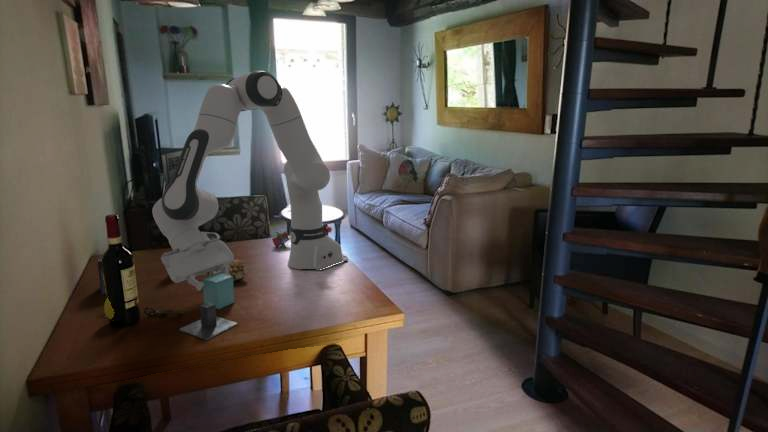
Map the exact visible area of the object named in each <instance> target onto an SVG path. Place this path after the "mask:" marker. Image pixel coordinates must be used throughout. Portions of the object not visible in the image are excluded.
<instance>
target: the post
mask: <svg viewBox="0 0 768 432" xmlns="http://www.w3.org/2000/svg"><path fill="white" fill-rule="evenodd" d="M216 311H217V310H216V308H215V304H213V303H209V302H207V303H205V304H204V303H202V304H200V305H199V312H200V319H198V320H195V321H194V322H191V323H190V324H187V325H185V326H183V327H181V328H179V331H180V332H182V333H186V334H189V335H191V336H194V337H197V338H199V339H201V340H204V341H209V340H210V339H213V338H214V337H217V336H218V335H220V334H222V333H224V332H226V331H228V330H230V329H232V328H234V327H236V326H238V325H239V323H238V322H236V321H232V320H229V319H226V318H223V317H220V316H217V312H216Z"/></svg>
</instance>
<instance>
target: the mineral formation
mask: <svg viewBox="0 0 768 432" xmlns="http://www.w3.org/2000/svg"><path fill="white" fill-rule="evenodd" d="M245 266H246V261H245V260H241V259H238V258H237V259H234V260H233V261H232V262H231V264H230V265H228V272H229V274H230V275H231V276H233V282H236V281H237V280H241V279H242V278H243V276H245V275H248V274H249V270H246V269H245ZM216 273H222V274H223V271H221V270H220V268H219V269H216V270H213V271H211V272H208V273H205V274H202V275H203V276H205V277H208V276H211V275H214V274H216Z"/></svg>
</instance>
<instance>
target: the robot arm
mask: <svg viewBox="0 0 768 432" xmlns="http://www.w3.org/2000/svg"><path fill="white" fill-rule="evenodd" d="M276 78H277V77H275V76H274V75H273V74H272V73H270V72H268V71H264V70H254V71H251V72H245V73H243V74H240V75H238V76H237V77H234V78H231V79H230V80H228V82H226V84H225V83H224V84H223V83H215V84H212V85H211V86H209V88H208V89H207V91H206V93H205V95H204V97H203V100H202V103H201V105H200V108H199V112H198V116H197V120H196V123H195V126H194V128H193V131H191V132H190V133H189V135H188V136H187V138H186V140H185V142H184V145H183V149H182V151H181V153H180V156H179V160H178V162H177V165H176V168H175V171H174V174H173V175H172V178H171V180H170V182H169V183H168V185H166V188H165V189H164V191H163V193H162V196H161V198H159V199H158V200H157V201H156V202H155V203H154V205H153V207H152V210H151V211H152V217H153V218H154V219H153V220H154V222H155V223H156V225H157V226H158V228H159V230H160V232H161V233H162V235H163V236H165V237H166V238H167V240H168V243H169V245H170V247H171V249H173V250H170V251H165V252H164V253H162V255H161V257H160V261H161V262H162V264H163V265H164V267H165V269H166V272H167V274H168V275H169V278H170V280H171V281H172V282H174V283H176V284H178V283H181V282H184V281H187V283H188V284H190V285H191V286H193V287H195V289H196V291H198V292H199V291H201V290H202V291H203V289H204V288H205V285H204V284H203V281H198V280H197V279H196V277H198V276H202V275H203V274H205V273H208V272H211V271H213V270H216V269H219V268H220V270H221V271H223V274H226V275H230V274H229V272H228V265H230V264H231V263H233V261H234V260H235V256H234V253H233V252H232V251H231V249H230V248H229V246H228V245H227V244H226V243H225V242H224V241H222V240H221V235H220V234H218V233H217V232H207V231H200V229H199V227H201V226H203V225H205V224H207V223H209V222H210V221H211V220H213V219H214V218H215V217H216V216H217V214H218V212H219V208H220V207H219V206H220V204H219V201H218V198H217V197H216V196H215V194H214V193H212V192H209V191H207V190H205V189H200V188H198V185H197V184H198V180H199V177H200V174H201V171H202V168H203V165H204V162H205V160H206V158H207V157H208V156H209V154H211V153H214V152H219V151H222V150H225V149H227V147H229V146H230V145H231V144H232V142H233V140H234V138H235V135H236V130H237V126H238V121H239V116H240V113H241V112H246V111H255V110H259V109H261V111H262V112H263V113H264V114H265V116H266V120H267V122H268V125H269V127H270V130H271V132H272V134H273V137H274V140H275V142H276V145H277V147H278V149H279V151H281V153H282V155H283V156H284V158H285V160H286V161H285V164H284V166H283V173H284V176H285V182H286V188H287V191H288V197H289V203H290V222H291V224H290V227H289V228H290V229H289V235H290V240H289V241H290V250H289V258H288V261H287V266H288V267H290V268H292V269H295V270H296V269H297V270H301V269H316V270H315V271H321V270H320V269H323V268H326V267H328V266H331V265H333V264H336V263H339V262H342V261H347V260H348V261H349V257H348V256H347V255H345V254H344V255H345V256H344V255H343V251H342V246H341V244H339V242H337V241H336V240H335V239H334V238H332V237H330V236H329V235H327V233H329V234H330V233H331V232H332V231H333V228H332V227H331V226H325V225H323V204H322V201H321V198H320V194H319V191H321V190H323V189H325V188H326V187H327V186H328V184H329V183H330V179H331V174H330V169H329V168H328V166H327V165H326V163H324V161H323V158H321V157H322V156H321V155H320V153H319V151H318V150H317V148H316V146H315V144H314V143H313V141H312V139H311V137H310V135H309V133H308V130H307V127H306V124H305V120H304V119H303V116H302V113H301V111H300V109H299V107H298V104H297V103H296V100H295V99H294V97H293V94H292V93H291V92H290V90H289V89H288V88H286V87H285V86H281V85H280V83H279V82H278V79H276ZM348 261H347V262H348ZM230 276H231V275H230Z"/></svg>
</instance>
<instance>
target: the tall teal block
mask: <svg viewBox="0 0 768 432" xmlns="http://www.w3.org/2000/svg"><path fill="white" fill-rule="evenodd" d="M202 282H203V284H204V285H205V288H204V289H202V291H203V304H205V303H207V302H209V303H213V304H215V308H216V309H217V310H221V309H223V308H224V307H227V306H229V305H231V304H233V303H235V291H234V280H233V276H230V275H226V274H222V273H216V274H214V275H211V276H208V277H206V276H205V277H203V278H202Z"/></svg>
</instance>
